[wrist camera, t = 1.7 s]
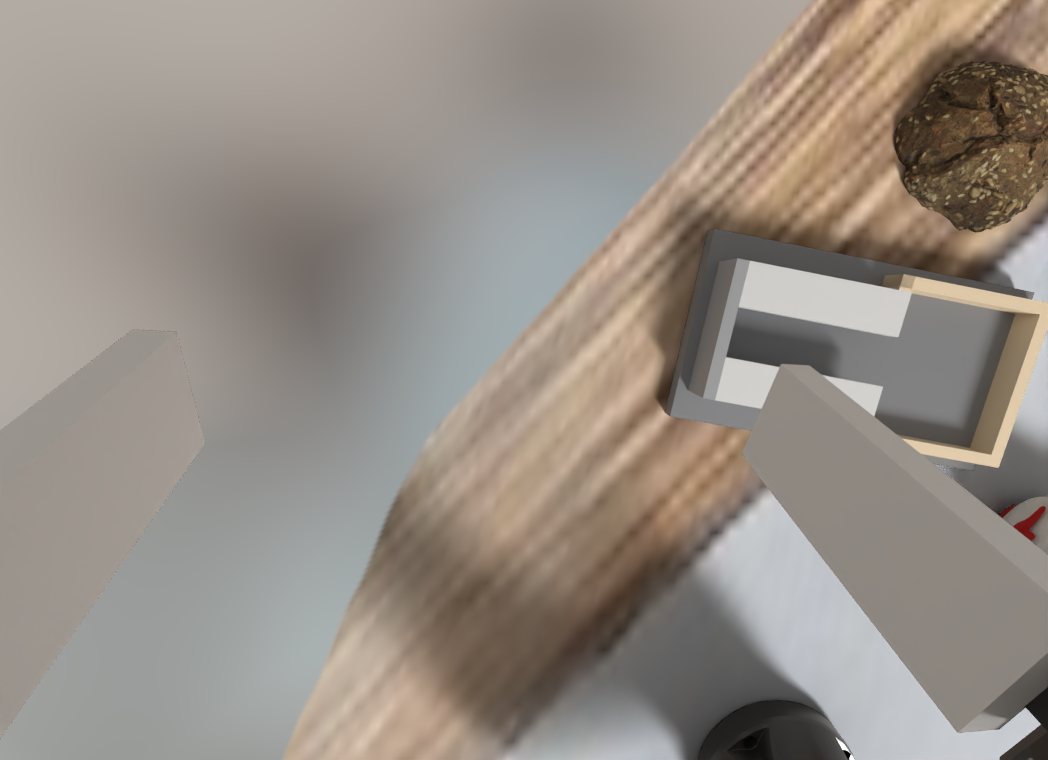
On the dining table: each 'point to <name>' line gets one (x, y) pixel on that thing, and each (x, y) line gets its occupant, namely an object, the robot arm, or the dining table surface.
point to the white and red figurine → (1030, 520)
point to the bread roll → (977, 143)
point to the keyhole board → (859, 343)
